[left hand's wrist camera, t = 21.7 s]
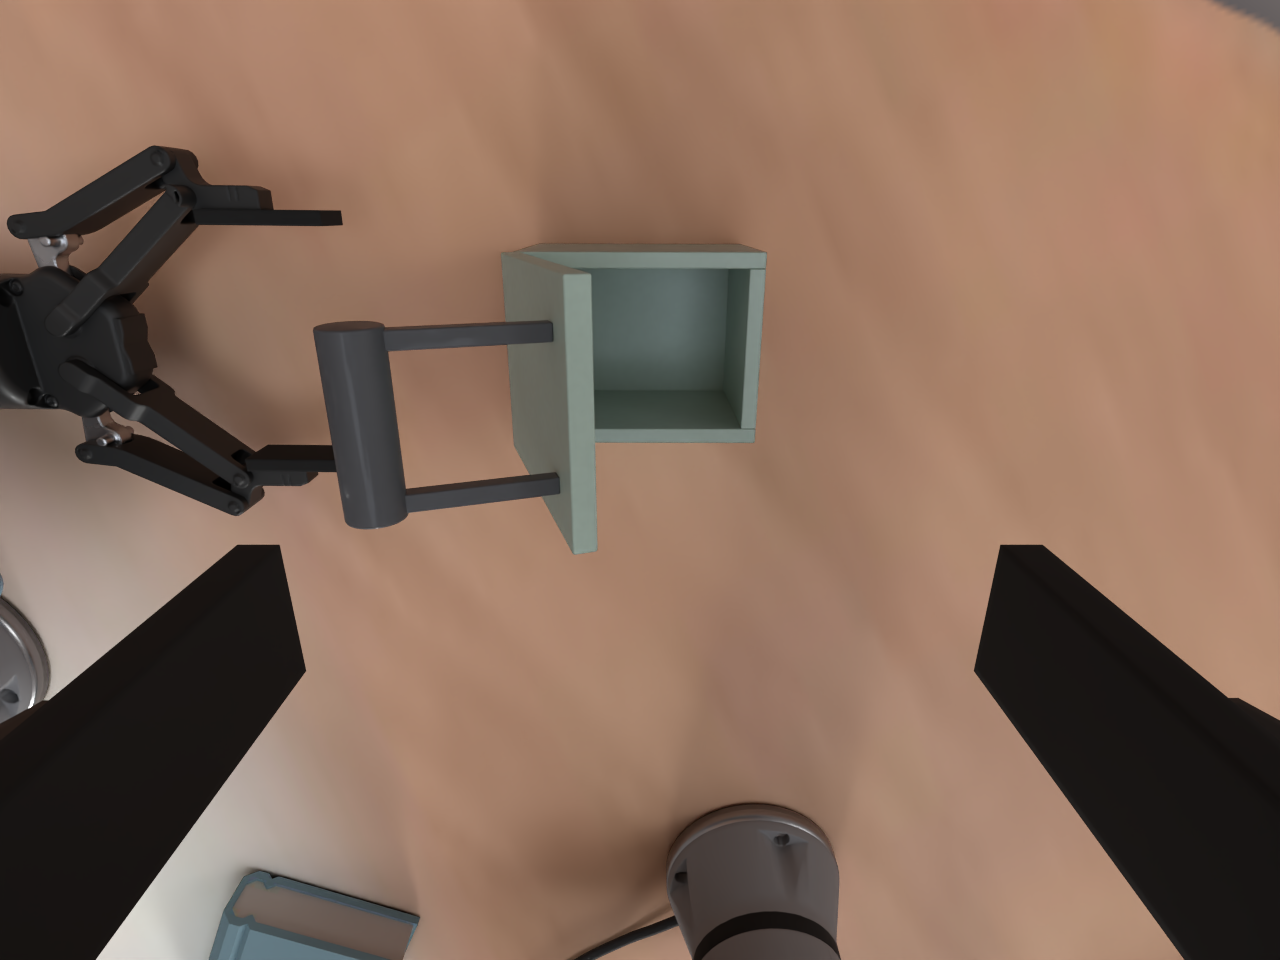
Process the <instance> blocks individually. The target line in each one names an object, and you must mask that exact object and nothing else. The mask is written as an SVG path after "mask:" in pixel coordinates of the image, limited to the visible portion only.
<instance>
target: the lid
mask: <svg viewBox="0 0 1280 960" xmlns="http://www.w3.org/2000/svg"><path fill="white" fill-rule="evenodd" d="M501 260H502V275H503V290H504V305H505V320H506V322H493V323H471V324H449V325H427V326H405V327H385V326H384V324H382V323H379V322H372V321H347V322H335V323H327V324H322V325H318V326H316V327H314V329H313V333H314V339H315V345H316V351H317V357H318V363H319V369H320V375H321V381H322V387H323V393H324V399H325V405H326V411H327V417H328V423H329V429H330V435H331V441H332V447H333V453H334V459H335V465H336V470H337V476H338V482H339V488H340V494H341V500H342V506H343V512H344V518H345V522H346V523H347V525H349V526H350V527H353V528H357V529H378V528H383V527H388V526H391V525H394V524H397V523H399V522H401V521H402V520H404V519H405V518H406V517H407V516H408V513H411V512H419V511H427V510H435V509H443V508H451V507H460V506H468V505H476V504H484V503H492V502H500V501H508V500H516V499H524V498H532V497H540V496H542V498H543V500H544V502H545V503H546V505H547V507H548V509H549V511H550V513H551V514H552V516H553V518H554V520H555V522H556V524H557V525H558V527H559V529H560V531H561V533H562V535H563V536H564V538H565V540H566V542H567V544H568V546H569V547H570V549H571V551H572V553H573V554H575V555H576V554H582V553H589V552H595V551H597V508H596V463H595V419H594V374H593V330H592V286H591V274H590V273H587V272H583V271H580V270H577V269H573V268H570V267H567V266H564V265H560V264H557V263H554V262H550V261H547V260H544V259H540V258H537V257H534V256H530V255H527V254H524V253H520V252H502V253H501ZM494 345H507V350H508V364H509V379H510V394H511V409H512V424H513V439H514V447H515V448H516V450H517V452H518V454H519V456H520V458H521V459H522V461H523V463H524V465H525V467H526V469H527V470H528V472H529V474H530V475H524V476H515V477H507V478H498V479H489V480H480V481H471V482H463V483H454V484H445V485H436V486H427V487H419V488H410V489H406V486H405V479H404V471H403V463H402V456H401V448H400V440H399V432H398V425H397V417H396V409H395V402H394V394H393V386H392V379H391V371H390V363H389V356H388V351H404V350H422V349H440V348H458V347H476V346H494Z"/></svg>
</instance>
